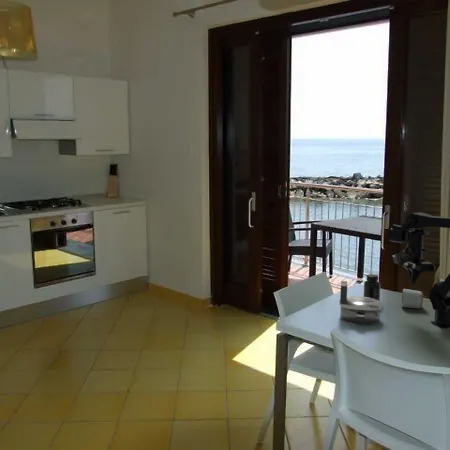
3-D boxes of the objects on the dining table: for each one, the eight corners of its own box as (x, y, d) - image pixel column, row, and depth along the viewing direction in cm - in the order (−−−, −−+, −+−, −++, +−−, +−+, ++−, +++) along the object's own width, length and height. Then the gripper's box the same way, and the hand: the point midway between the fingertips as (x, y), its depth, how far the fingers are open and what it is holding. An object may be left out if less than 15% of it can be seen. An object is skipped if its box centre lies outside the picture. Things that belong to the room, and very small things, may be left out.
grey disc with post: (380, 300, 205) (381, 280, 204) (383, 313, 190) (384, 291, 189) (339, 297, 209) (340, 278, 208) (339, 309, 194) (339, 288, 192)
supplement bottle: (377, 300, 224) (379, 273, 223) (381, 305, 218) (382, 277, 216) (361, 299, 225) (363, 273, 223) (364, 304, 218) (365, 277, 217)
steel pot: (378, 310, 211) (378, 298, 210) (381, 330, 187) (382, 317, 186) (340, 307, 214) (341, 295, 213) (339, 327, 190) (340, 314, 189)
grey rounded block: (422, 311, 210) (424, 292, 209) (401, 309, 212) (402, 291, 211) (420, 304, 220) (421, 286, 219) (400, 302, 222) (401, 285, 221)
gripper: (383, 241, 206) (381, 279, 209) (410, 250, 189) (408, 291, 191) (408, 240, 209) (405, 277, 211) (437, 249, 191) (434, 289, 193)
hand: (412, 284), depth 202 cm, fingers closed
